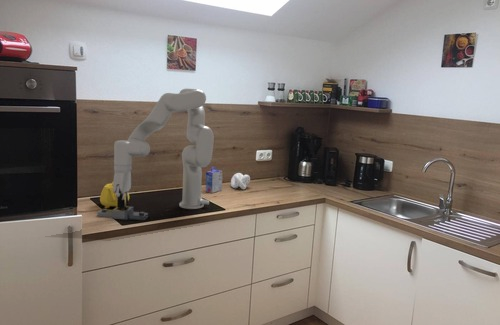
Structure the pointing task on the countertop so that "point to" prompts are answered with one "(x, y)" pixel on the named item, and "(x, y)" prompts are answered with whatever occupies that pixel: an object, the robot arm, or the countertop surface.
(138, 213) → the chain ends
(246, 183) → the white twisted lump
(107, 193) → the teapot
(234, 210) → the countertop surface
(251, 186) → the countertop surface
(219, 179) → the ink cartridge box
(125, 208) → the pin
